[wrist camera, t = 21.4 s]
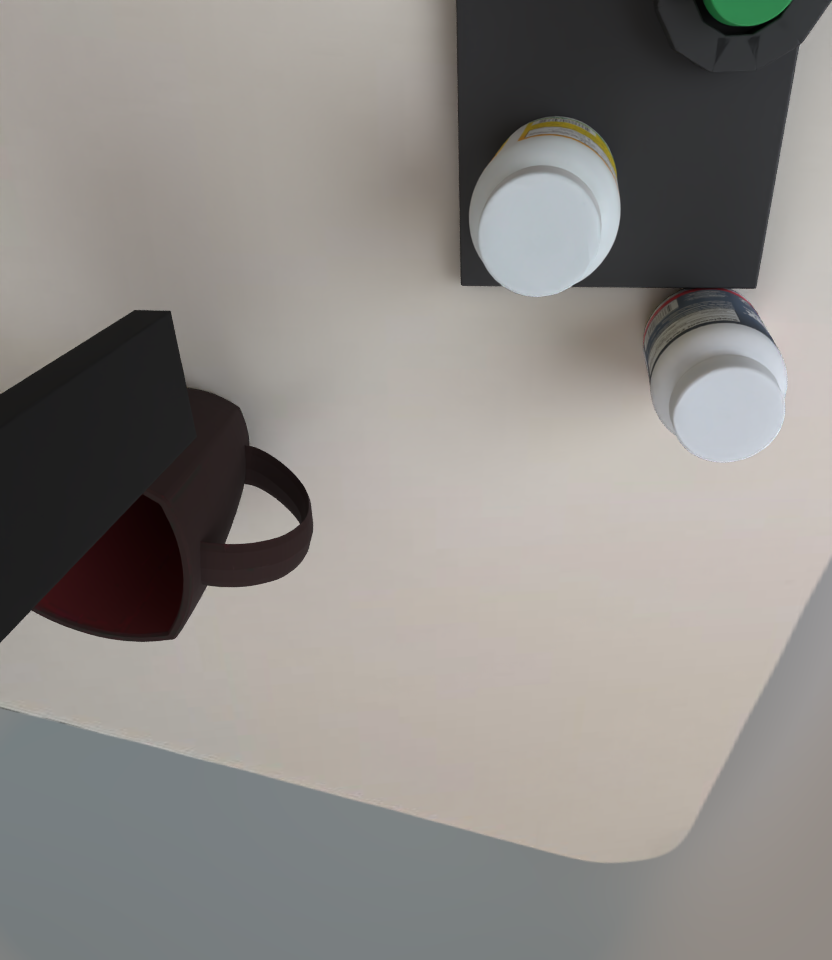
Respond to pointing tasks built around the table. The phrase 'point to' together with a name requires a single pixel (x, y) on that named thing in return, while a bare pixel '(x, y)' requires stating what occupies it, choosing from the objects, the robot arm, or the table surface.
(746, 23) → the button
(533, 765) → the table surface
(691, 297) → the pill bottle
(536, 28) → the scale
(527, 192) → the supplement bottle
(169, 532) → the cup
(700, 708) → the table surface
